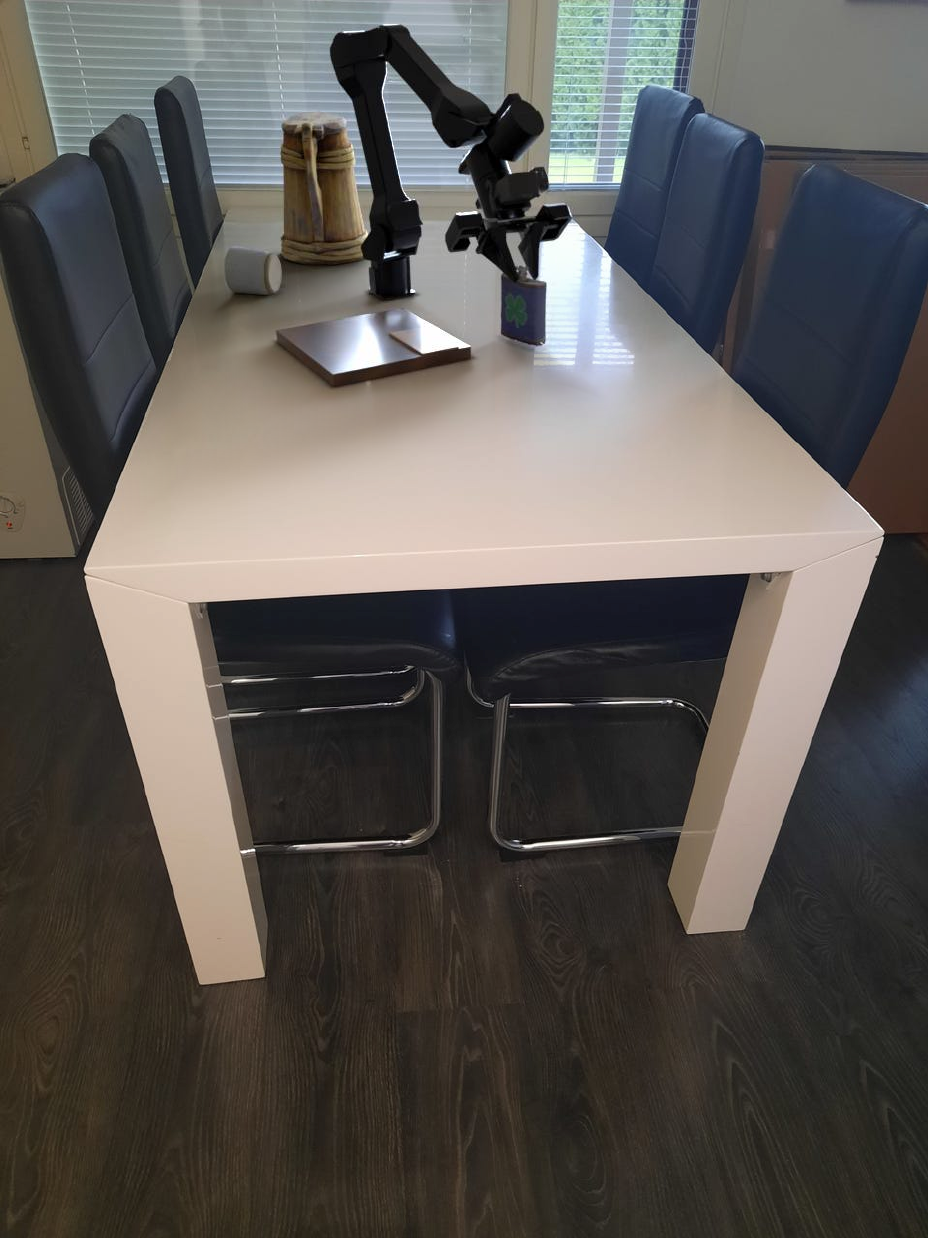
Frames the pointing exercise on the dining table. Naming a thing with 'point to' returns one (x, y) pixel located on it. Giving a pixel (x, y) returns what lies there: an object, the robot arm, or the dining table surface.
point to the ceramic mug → (252, 271)
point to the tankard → (320, 191)
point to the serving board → (371, 346)
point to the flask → (523, 308)
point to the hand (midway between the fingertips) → (526, 279)
